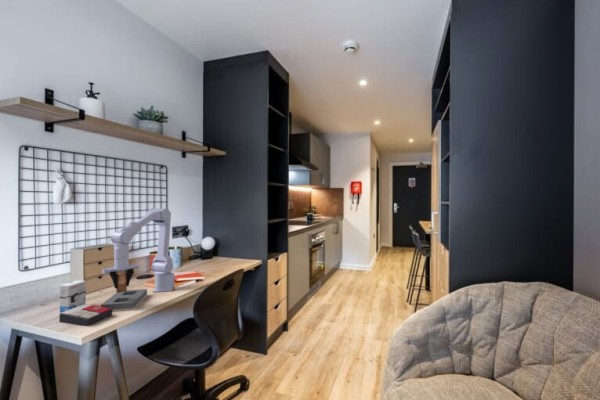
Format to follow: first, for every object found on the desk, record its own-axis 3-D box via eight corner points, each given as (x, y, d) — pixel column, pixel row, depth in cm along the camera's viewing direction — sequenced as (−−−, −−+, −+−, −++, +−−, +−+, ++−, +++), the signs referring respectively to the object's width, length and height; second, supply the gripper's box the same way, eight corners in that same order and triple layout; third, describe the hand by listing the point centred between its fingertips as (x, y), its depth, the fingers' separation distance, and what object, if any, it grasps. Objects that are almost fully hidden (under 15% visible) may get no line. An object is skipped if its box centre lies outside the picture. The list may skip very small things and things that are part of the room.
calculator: (88, 317, 115) (59, 311, 119) (87, 328, 115) (58, 322, 119) (112, 307, 125) (85, 302, 129) (112, 317, 125) (84, 312, 129)
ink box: (68, 313, 128) (68, 285, 128) (59, 312, 129) (59, 285, 129) (86, 306, 136) (86, 280, 136) (77, 305, 137) (77, 279, 137)
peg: (127, 291, 135) (127, 273, 136) (117, 293, 133) (117, 275, 133) (125, 289, 138) (125, 272, 138) (115, 291, 136) (115, 273, 136)
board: (147, 295, 152) (147, 289, 151) (133, 309, 132) (133, 302, 132) (119, 296, 149) (118, 290, 149) (100, 311, 129) (100, 304, 129)
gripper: (136, 253, 143) (136, 281, 143) (100, 258, 133) (100, 288, 133) (140, 256, 138) (141, 285, 138) (104, 260, 128) (104, 291, 128)
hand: (121, 286), depth 135 cm, fingers closed on peg, 4 cm apart
